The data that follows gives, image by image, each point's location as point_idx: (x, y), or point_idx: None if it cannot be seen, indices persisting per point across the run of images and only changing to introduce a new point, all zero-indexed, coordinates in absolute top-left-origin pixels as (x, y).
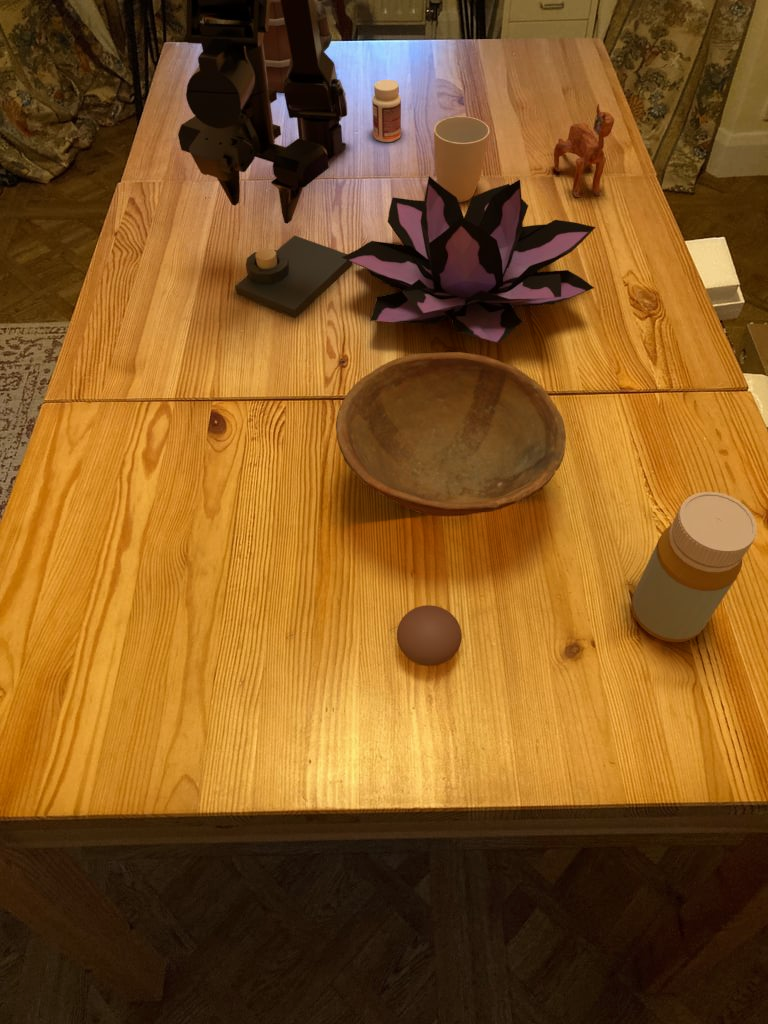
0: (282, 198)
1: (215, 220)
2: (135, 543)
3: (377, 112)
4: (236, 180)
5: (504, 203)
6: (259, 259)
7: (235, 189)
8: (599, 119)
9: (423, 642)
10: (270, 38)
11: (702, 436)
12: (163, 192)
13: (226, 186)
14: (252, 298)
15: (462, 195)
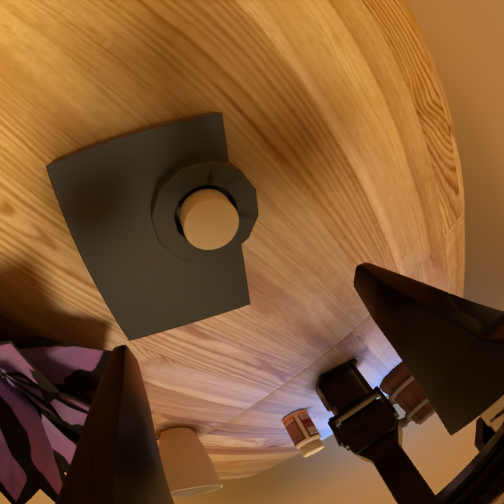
0: (93, 465)
1: (379, 235)
2: None
3: (308, 432)
4: (400, 340)
5: (25, 482)
6: (206, 199)
7: (386, 313)
8: None
9: None
10: (420, 391)
11: None
12: (440, 224)
13: (421, 301)
14: (167, 122)
15: (160, 439)
